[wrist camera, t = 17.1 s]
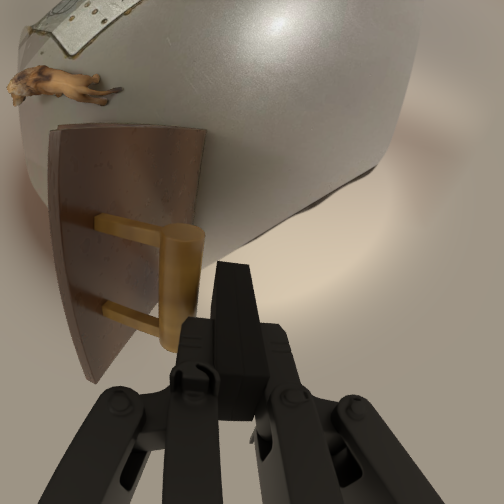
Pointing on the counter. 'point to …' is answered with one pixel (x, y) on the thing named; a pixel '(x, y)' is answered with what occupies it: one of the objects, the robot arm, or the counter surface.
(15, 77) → the lion figurine
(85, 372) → the chest lid
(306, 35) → the counter surface
